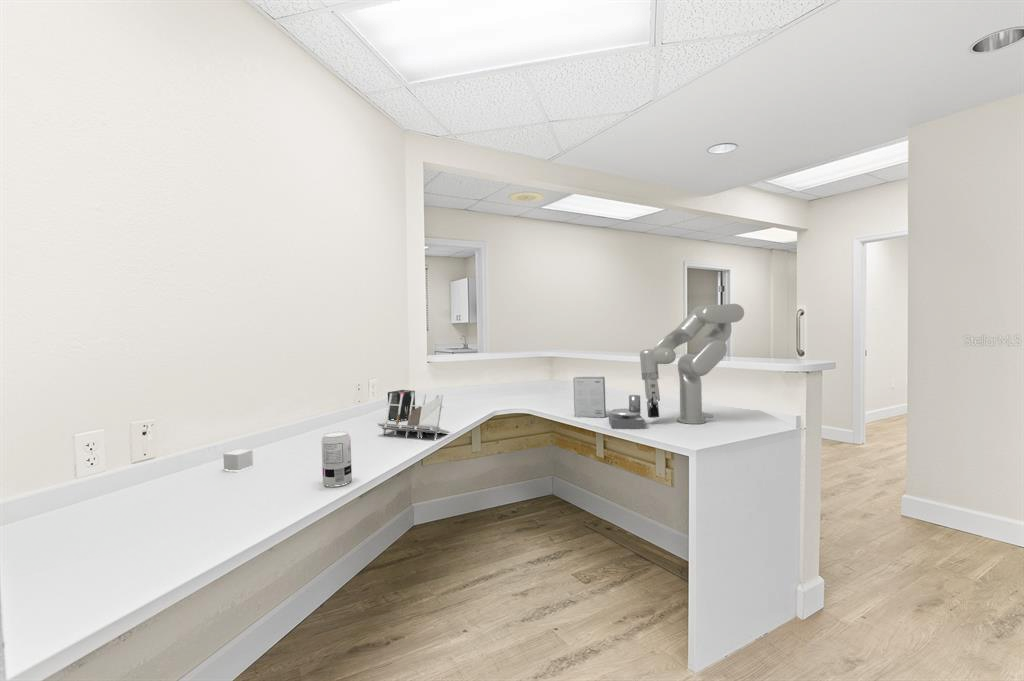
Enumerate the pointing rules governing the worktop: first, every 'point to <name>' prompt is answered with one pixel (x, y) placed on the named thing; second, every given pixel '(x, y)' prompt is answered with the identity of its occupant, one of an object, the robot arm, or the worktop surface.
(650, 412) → the steel spacer
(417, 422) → the architectural model
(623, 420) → the scale body
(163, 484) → the worktop surface
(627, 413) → the scale pan
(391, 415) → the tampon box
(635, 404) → the cylinder
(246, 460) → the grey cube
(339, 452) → the supplement can
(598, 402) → the hard drive box
